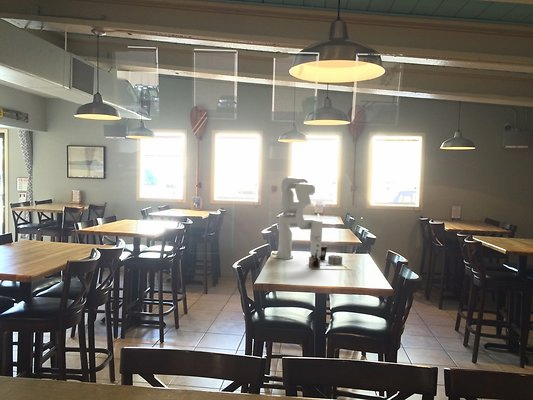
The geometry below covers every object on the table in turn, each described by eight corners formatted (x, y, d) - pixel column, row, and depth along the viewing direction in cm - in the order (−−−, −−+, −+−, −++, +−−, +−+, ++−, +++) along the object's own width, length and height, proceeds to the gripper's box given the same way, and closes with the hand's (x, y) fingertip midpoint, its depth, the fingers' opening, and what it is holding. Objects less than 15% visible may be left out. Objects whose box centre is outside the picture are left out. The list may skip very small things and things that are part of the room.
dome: (332, 263, 304) (333, 255, 304) (330, 262, 309) (330, 254, 309) (339, 263, 305) (340, 255, 305) (337, 262, 310) (337, 254, 310)
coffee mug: (326, 259, 323) (326, 245, 323) (326, 261, 315) (327, 247, 314) (310, 258, 324) (311, 244, 324) (310, 260, 316) (311, 246, 315)
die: (311, 267, 287) (311, 258, 287) (308, 265, 293) (309, 256, 293) (320, 267, 288) (320, 258, 288) (317, 265, 294) (317, 256, 294)
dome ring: (330, 264, 302) (331, 257, 302) (326, 262, 311) (327, 255, 311) (343, 264, 303) (343, 257, 303) (339, 262, 312) (339, 255, 312)
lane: (311, 269, 282) (311, 269, 282) (305, 264, 297) (305, 264, 297) (351, 269, 287) (351, 269, 287) (343, 265, 301) (343, 264, 301)
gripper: (325, 240, 282) (323, 268, 283) (317, 236, 299) (316, 262, 300) (313, 240, 280) (312, 268, 281) (307, 236, 297) (305, 262, 298)
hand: (314, 265), depth 290 cm, fingers closed on die, 6 cm apart
